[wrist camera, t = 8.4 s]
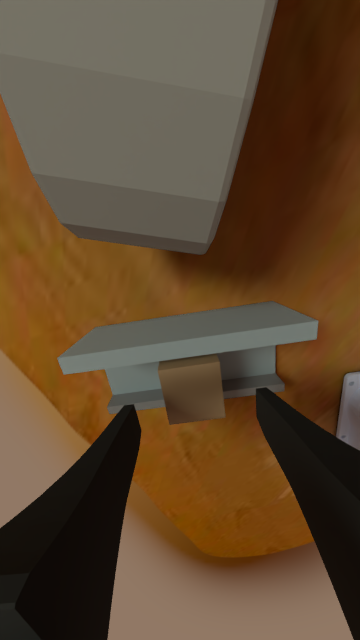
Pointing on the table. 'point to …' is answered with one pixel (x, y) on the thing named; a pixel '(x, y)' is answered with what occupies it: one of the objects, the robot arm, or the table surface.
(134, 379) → the wall shelf
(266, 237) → the table surface
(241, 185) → the table surface
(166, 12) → the alarm clock
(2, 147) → the table surface
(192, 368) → the cabinet block
